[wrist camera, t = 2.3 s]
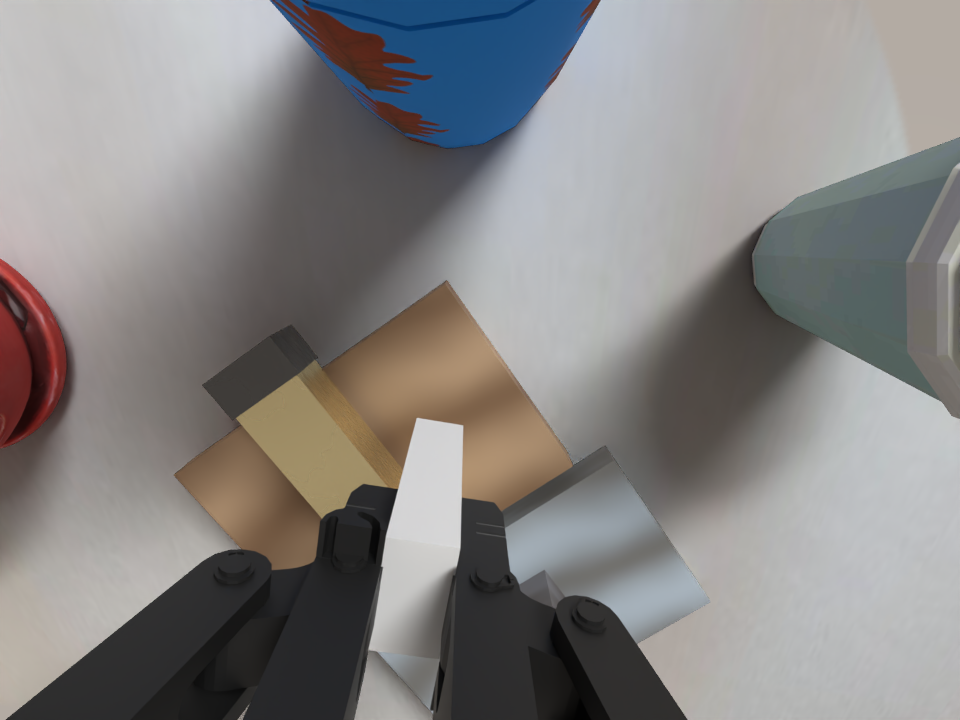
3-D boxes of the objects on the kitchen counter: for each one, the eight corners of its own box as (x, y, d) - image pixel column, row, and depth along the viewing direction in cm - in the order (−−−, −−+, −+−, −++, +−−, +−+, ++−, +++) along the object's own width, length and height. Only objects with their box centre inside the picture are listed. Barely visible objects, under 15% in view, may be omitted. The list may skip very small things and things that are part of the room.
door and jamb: (696, 580, 33) (735, 640, 28) (436, 729, 35) (430, 809, 31) (477, 258, 28) (479, 264, 23) (192, 459, 30) (139, 503, 26)
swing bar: (478, 547, 29) (479, 588, 26) (413, 587, 30) (406, 632, 26) (298, 319, 26) (273, 333, 22) (229, 369, 26) (195, 390, 23)
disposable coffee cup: (671, 281, 28) (881, 337, 14) (806, 101, 26) (1220, -56, 12) (816, 385, 30) (1141, 534, 15) (954, 223, 28) (1480, 219, 13)
